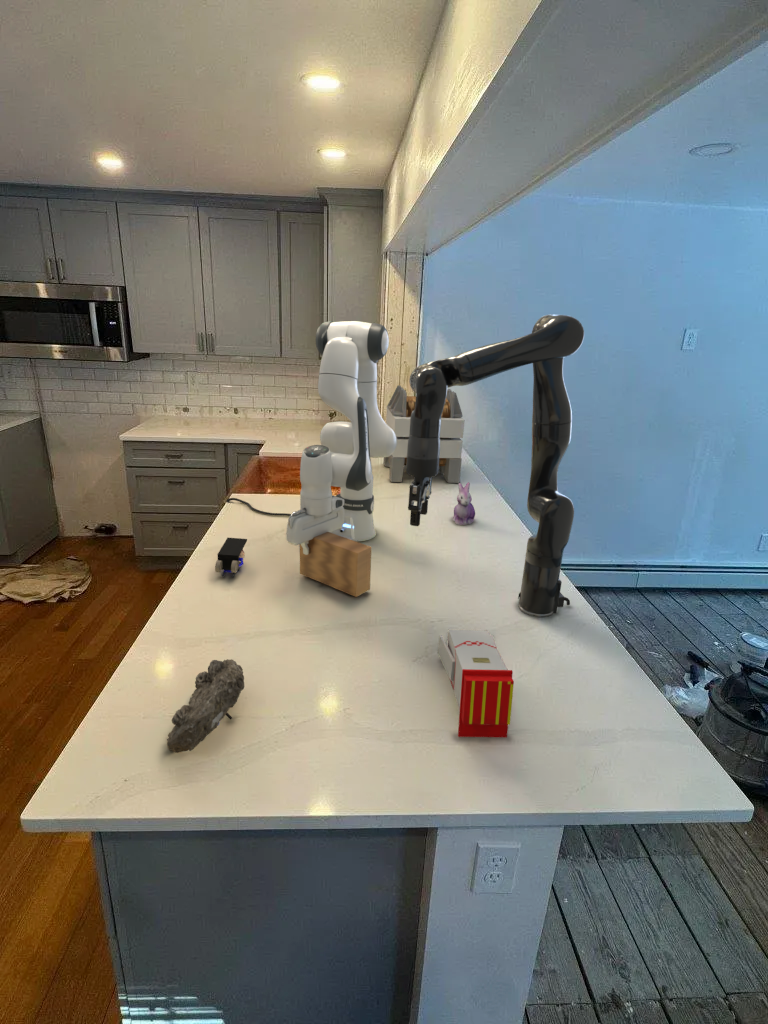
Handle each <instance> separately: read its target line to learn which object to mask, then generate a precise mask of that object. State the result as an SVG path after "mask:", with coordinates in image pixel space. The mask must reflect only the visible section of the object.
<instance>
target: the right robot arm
mask: <svg viewBox="0 0 768 1024" xmlns="http://www.w3.org/2000/svg"><path fill="white" fill-rule="evenodd" d="M584 339H585V329H584V326H583V324H582V322H581V321H580V320H579V319H577V318H576V317H573V316H572V315H567V314H556V313H555V314H553V313H552V314H551V313H549V314H545V315H543V316H541V317H540V318H538V319H537V321H536V322H535V324H534V326H533V327H532V330H531V333H529V334H526V335H523V336H520V337H517V338H512V339H508V340H502V341H499V342H494V343H489V344H485V345H482V346H478V347H474V348H472V349H469V350H467V351H464V352H461V353H459V354H458V353H457V354H456V355H454V356H451V357H446V358H441V359H437V360H433V361H429V362H426V363H423V364H420V365H418V366H417V367H415V368H414V369H413V370H412V372H411V373H410V375H409V381H408V382H409V386H410V388H411V390H412V392H414V394H415V395H416V396H415V397H416V402H415V410H413V411H412V413H411V417H410V431H409V439H408V447H407V464H406V465H405V466H406V467H405V472H406V474H408V475H409V476H412V477H413V478H414V479H413V481H411V483H410V485H409V487H408V488H409V494H408V505H407V510H408V511H410V517H409V519H410V520H409V525H410V526H413V527H419V526H420V524H421V515H423V516H426V515H427V514H428V507H429V500H430V496H431V494H432V482H433V478H434V477H436V476H437V475H438V474H439V469H438V467H439V455H440V427H441V415H442V412H443V408H444V404H445V400H446V395H447V389H450V388H452V387H455V386H457V387H463V386H469V385H471V384H474V383H477V382H480V381H482V380H486V379H489V378H491V377H493V376H496V375H499V374H502V373H505V372H508V371H510V370H514V369H517V368H520V367H523V366H526V365H530V364H532V373H533V375H532V376H533V384H532V385H533V386H532V414H531V416H532V417H531V460H530V461H531V463H530V464H531V465H530V476H529V477H530V478H529V485H528V492H527V501H526V503H527V504H526V507H527V512H528V514H529V516H530V517H531V518H532V519H533V520H534V521H535V522H537V523H538V528H537V531H536V534H533V535H530V536H529V537H528V539H527V544H526V550H525V557H524V566H523V572H522V577H521V578H522V579H521V585H520V592H519V593H518V596H517V599H518V604H517V607H518V609H519V610H520V611H521V612H522V613H524V614H526V615H529V616H531V617H536V618H548V617H550V616H553V615H554V614H558V613H557V612H558V608H564V606H565V605H564V604H565V602H566V605H567V606H570V605H571V600H570V599H569V598H568V597H566V596H564V595H563V593H562V592H561V588H562V580H561V579H560V576H561V575H560V574H561V569H562V562H563V557H564V551H565V548H566V546H567V545H568V543H569V540H570V536H571V531H572V527H573V522H574V516H575V507H574V503H573V501H572V499H571V498H569V497H568V496H566V495H564V494H563V493H561V492H559V488H558V474H559V473H558V472H559V467H560V464H561V462H562V460H563V458H564V456H565V454H566V452H567V450H568V449H569V446H570V443H571V439H572V428H573V427H572V425H573V413H572V412H573V411H572V406H571V402H570V397H569V394H568V392H567V388H566V384H565V379H564V358H567V357H570V356H572V355H574V354H575V353H576V352H577V351H578V350H579V349H580V348H581V346H582V345H583V343H584ZM415 503H416V505H415Z"/></svg>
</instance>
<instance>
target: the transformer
mask: <svg viewBox="0 0 768 1024" xmlns="http://www.w3.org/2000/svg"><path fill="white" fill-rule="evenodd" d="M407 394H408V393H407V390H406V389H404V388H403V387H402V385H399V384H398V385H397V386H396V388H395V390H394V392H393V394H392V395H391V398H390V400H389V402H388V404H387V405H386V413H385V414H386V415H385V423H386V424H387V425H388V426H389V427H390V428H391V429H392V430H393V431H394V433H395V435H396V438H397V445H396V448H395V450H394V452H393V453H392V454H391V455H390V456H389V457H383V466H384V467H388V468H389V475H388V476H389V477H388V478H389V480H390V482H391V483H402V482H403V475H404V469H405V466H406V464H407V447H408V439H409V431H410V417H411V413H412V411H413V410H415V402H416V396H415V395H414V396H413V395H412V396H411V395H407ZM464 429H465V419H464V418H463V411H462V408H461V405H460V402H459V398H458V395H457V392H455V391H453V390H452V389H451V388H447V395H446V400H445V404H444V408H443V412H442V415H441V427H440V455H439V467H438V472H439V473H440V474H441V475H443V478H444V479H445V481H446V482H447V483H449V484H455V483H456V484H459V483H461V472H462V461H463V460H462V453H463V442H464V441H463V440H462V439H463V438H464V431H465V430H464Z"/></svg>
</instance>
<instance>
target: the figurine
mask: <svg viewBox="0 0 768 1024" xmlns="http://www.w3.org/2000/svg"><path fill="white" fill-rule="evenodd" d="M457 485H458V494H457V496H456V501H457V504H456V505H455V506H454V508H453V516H452V521H453V522H454V523H455V524H456V525H460V526H466V525H471V524H472V523H473V522H474V521H475V516H476V510H475V507H474V505H473V503H472V500H473V498H472V495H471V493H470V488H471V482H470V481H468V482H467V483H466V484H465V486H463V484H462V483H461V482H459V483H457Z"/></svg>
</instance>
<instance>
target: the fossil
mask: <svg viewBox="0 0 768 1024" xmlns="http://www.w3.org/2000/svg"><path fill="white" fill-rule="evenodd" d="M243 670H244V669H243V667H242V665H240V664H237V662H236V661H235V660H234V659H232V658H231V659H227V658H226V659H224V660H223V661H222V660H217V659H212V660H211V661H210V663H209V665H208V666H207V671H201V672H199V673H198V674H197V675H196V676H195V680H194V684H195V685H194V687H195V689H194V690H193V693H192V694H191V697H190V698H189V700H188V704H184V705H182V706H181V707H180V709H177V710H176V711H175V713H174V715H173V716H172V718H171V723H172V724H173V727H172V730H171V731H170V732H168V734H167V738H166V741H167V742H166V745H167V749H168V750H169V751H173V752H174V753H176V754H178V753H182V752H188V751H189V752H192V751H193V750H195V748H196V747H197V746H199V744H200V743H201V742H203V741H204V740H205V739H206V738H207V737H208V736H209V735H210V734H211V733H212V732H214V730H215V729H217V727H218V726H219V724H220V722H221V721H222V720H223V719H224V718H225V716H226V717H227V719H229V720H233V717H232V715H230V714H229V710H230V709H231V708H234V706H235V704H236V703H237V702H238V699H239V697H240V695H241V693H242V691H243V690H245V689H244V688H245V675H244V671H243Z"/></svg>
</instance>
